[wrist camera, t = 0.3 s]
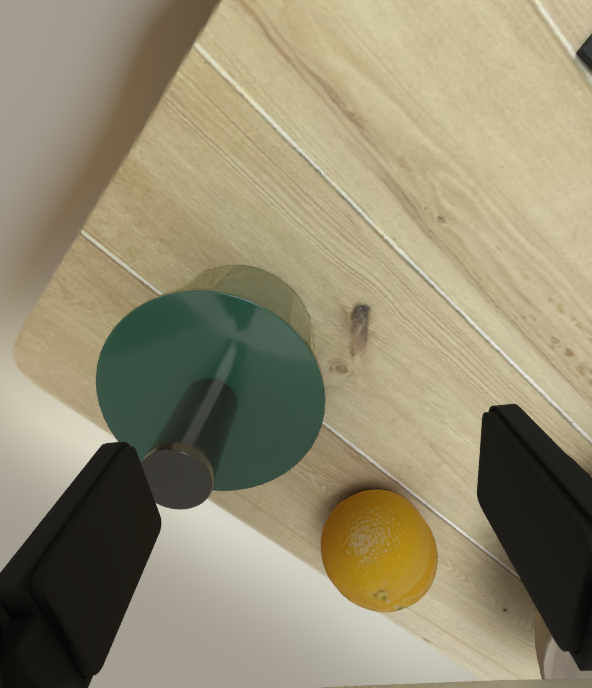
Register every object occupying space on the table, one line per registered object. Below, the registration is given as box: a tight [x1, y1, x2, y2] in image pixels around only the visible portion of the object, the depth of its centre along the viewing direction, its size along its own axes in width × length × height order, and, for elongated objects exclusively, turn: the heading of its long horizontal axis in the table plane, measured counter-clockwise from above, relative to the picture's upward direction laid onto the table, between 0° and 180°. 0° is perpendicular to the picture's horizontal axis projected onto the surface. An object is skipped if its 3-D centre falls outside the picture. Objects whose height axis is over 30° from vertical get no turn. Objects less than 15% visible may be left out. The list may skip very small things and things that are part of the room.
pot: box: [177, 265, 315, 354], centre depth 23 cm, size 11×11×8 cm
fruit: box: [321, 489, 438, 612], centre depth 29 cm, size 9×8×8 cm
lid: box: [96, 288, 325, 509], centre depth 17 cm, size 12×12×7 cm
